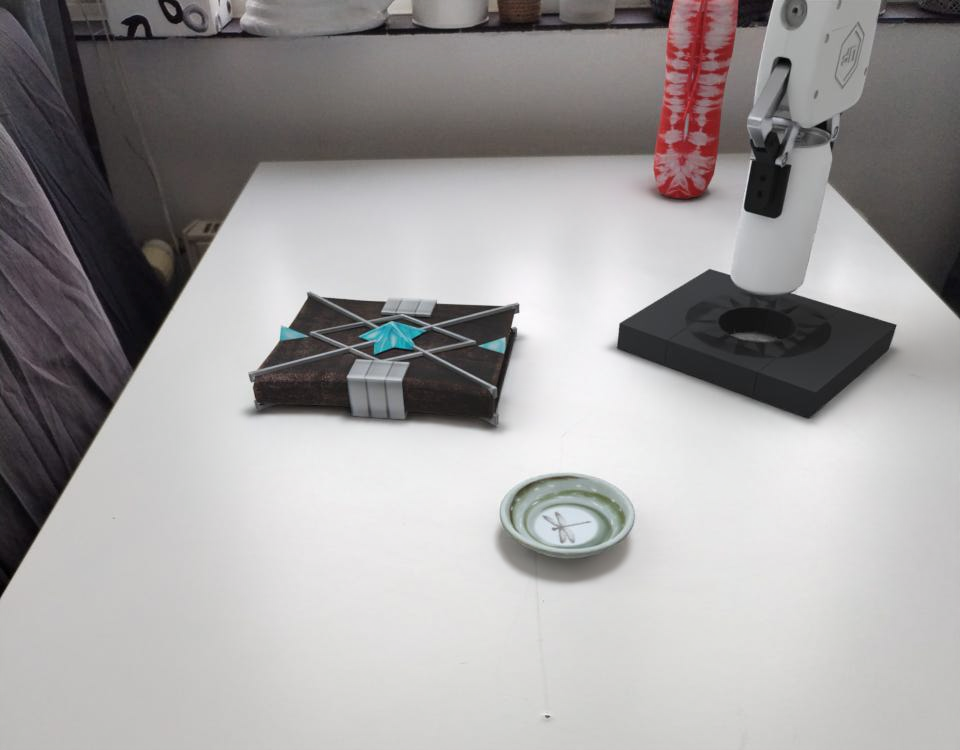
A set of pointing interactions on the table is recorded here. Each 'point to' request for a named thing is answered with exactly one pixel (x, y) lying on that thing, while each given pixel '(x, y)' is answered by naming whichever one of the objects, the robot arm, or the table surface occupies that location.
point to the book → (390, 358)
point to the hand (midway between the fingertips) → (783, 199)
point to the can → (785, 222)
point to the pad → (757, 365)
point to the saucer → (567, 515)
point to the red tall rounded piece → (693, 94)
